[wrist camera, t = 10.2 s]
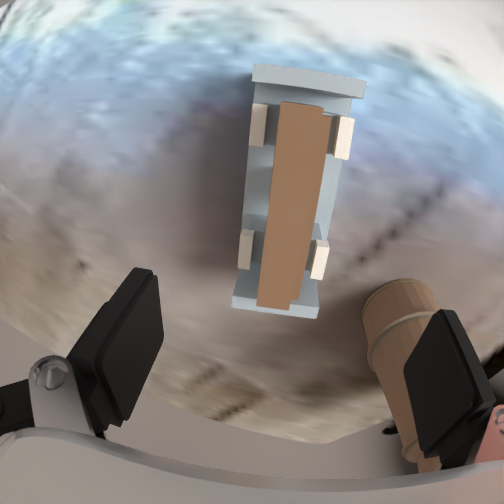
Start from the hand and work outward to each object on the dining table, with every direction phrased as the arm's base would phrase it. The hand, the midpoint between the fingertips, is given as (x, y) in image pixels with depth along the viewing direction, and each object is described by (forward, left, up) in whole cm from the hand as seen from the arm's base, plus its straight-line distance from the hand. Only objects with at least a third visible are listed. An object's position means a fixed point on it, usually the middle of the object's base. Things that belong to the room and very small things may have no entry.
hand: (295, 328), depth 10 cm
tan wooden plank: (+1, 0, -15) cm, 15 cm away
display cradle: (0, 0, -20) cm, 20 cm away
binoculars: (+17, +19, -21) cm, 33 cm away
